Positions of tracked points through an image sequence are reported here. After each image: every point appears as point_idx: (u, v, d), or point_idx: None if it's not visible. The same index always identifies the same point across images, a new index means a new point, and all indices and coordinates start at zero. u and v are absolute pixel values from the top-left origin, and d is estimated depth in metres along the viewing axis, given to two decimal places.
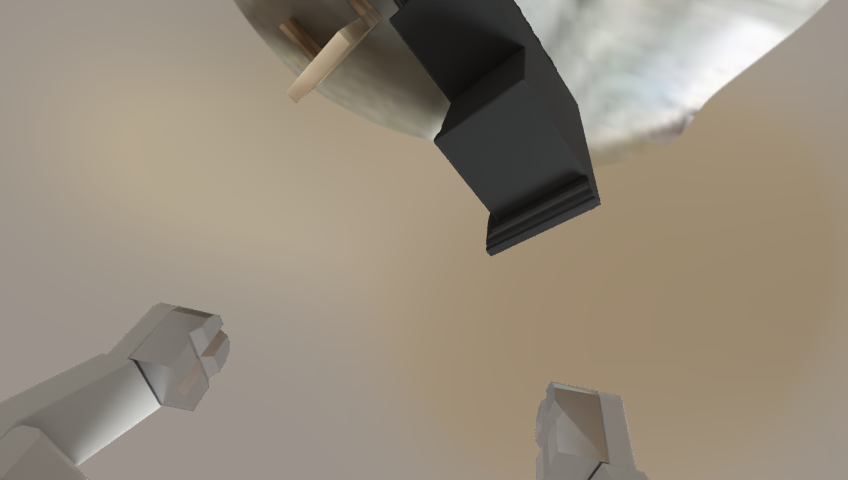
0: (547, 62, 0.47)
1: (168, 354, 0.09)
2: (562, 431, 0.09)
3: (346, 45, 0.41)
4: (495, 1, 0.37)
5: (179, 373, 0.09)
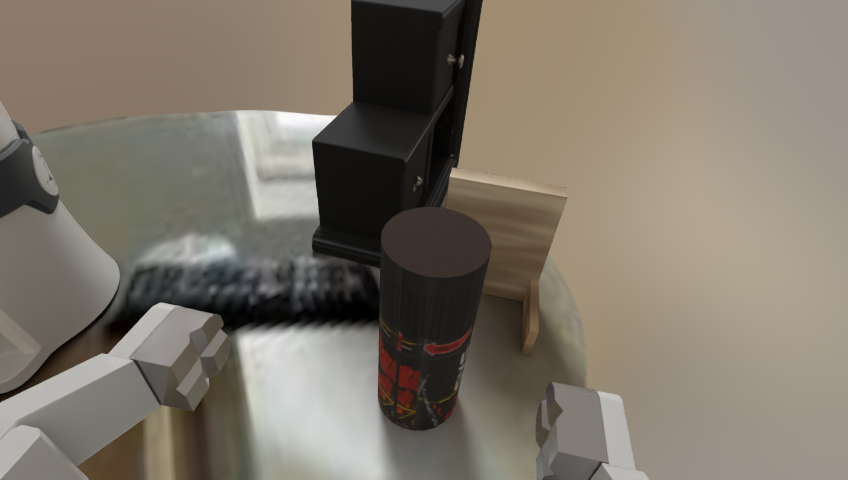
0: None
1: (168, 354, 0.09)
2: (562, 431, 0.09)
3: (456, 169, 0.35)
4: (335, 118, 0.42)
5: (179, 373, 0.09)
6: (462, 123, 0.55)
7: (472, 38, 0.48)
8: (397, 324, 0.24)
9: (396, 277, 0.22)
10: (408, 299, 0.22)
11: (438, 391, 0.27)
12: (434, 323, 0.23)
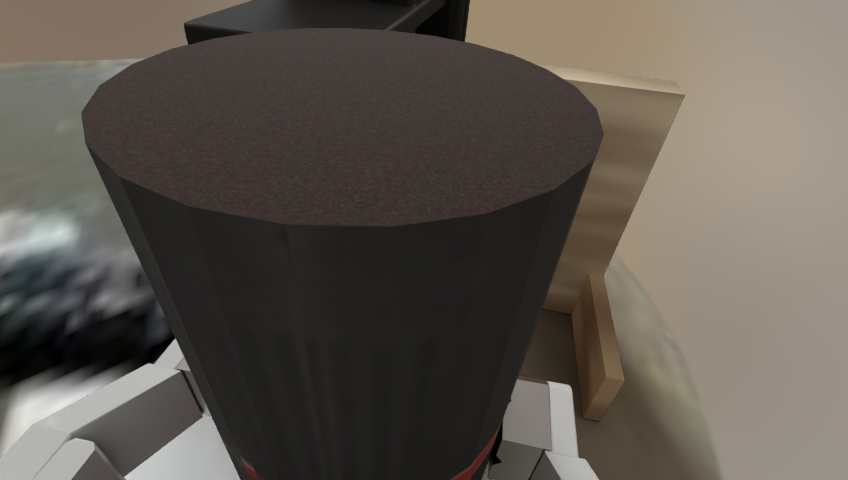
0: None
1: None
2: (509, 420, 0.09)
3: None
4: (242, 4, 0.24)
5: None
6: None
7: None
8: (229, 435, 0.06)
9: (139, 244, 0.04)
10: (217, 350, 0.05)
11: None
12: (357, 447, 0.05)
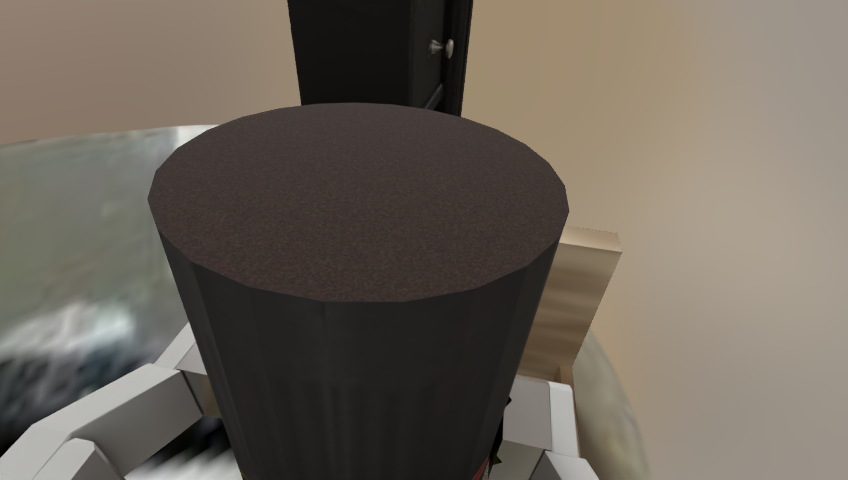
0: None
1: None
2: (509, 420, 0.09)
3: None
4: None
5: None
6: None
7: (465, 18, 0.35)
8: (250, 465, 0.07)
9: (193, 307, 0.05)
10: (252, 392, 0.05)
11: None
12: (367, 474, 0.06)
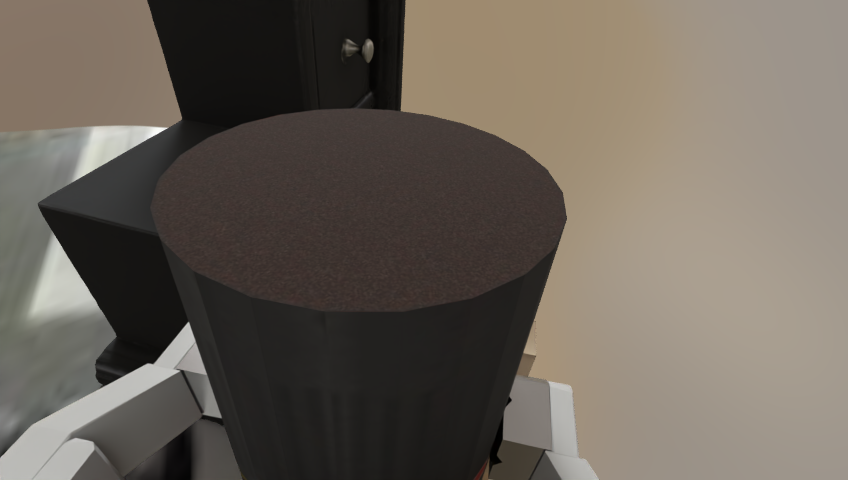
0: None
1: None
2: (509, 420, 0.09)
3: None
4: (122, 154, 0.23)
5: None
6: None
7: (396, 14, 0.29)
8: (251, 469, 0.07)
9: (195, 314, 0.05)
10: (254, 399, 0.06)
11: None
12: (367, 479, 0.06)
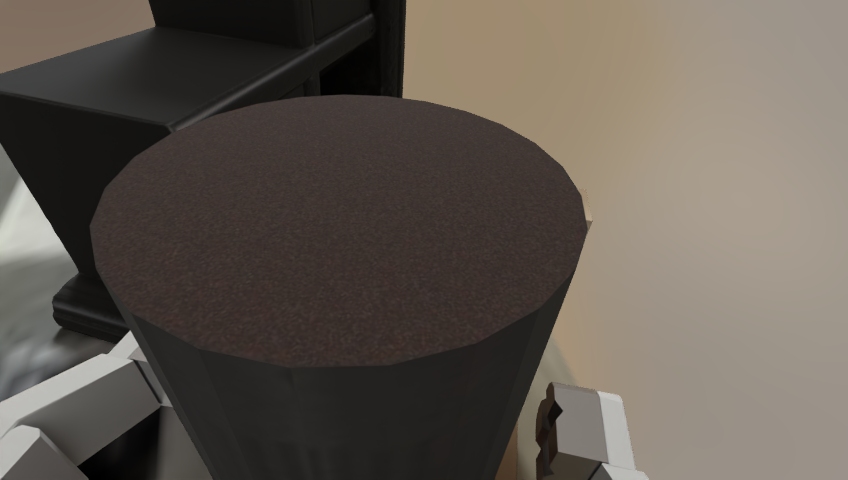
0: None
1: None
2: (562, 431, 0.09)
3: None
4: (81, 50, 0.19)
5: None
6: (399, 85, 0.32)
7: None
8: None
9: (147, 354, 0.04)
10: (221, 446, 0.05)
11: None
12: None
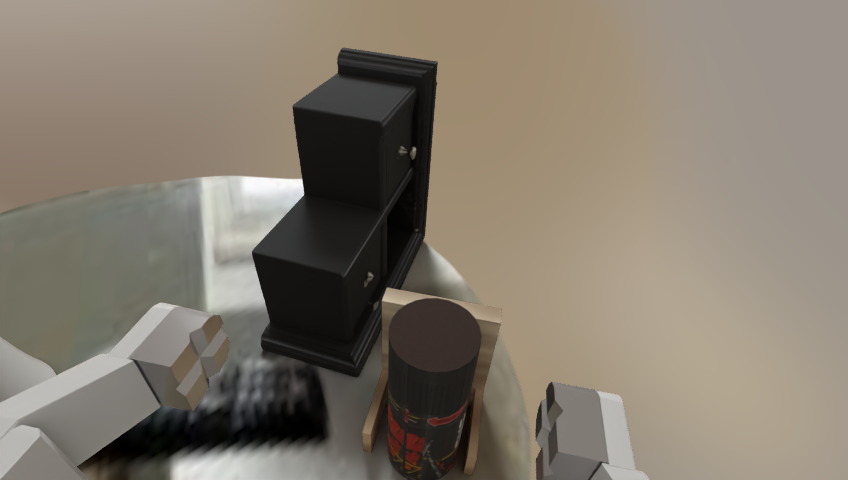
0: None
1: (168, 354, 0.09)
2: (562, 431, 0.09)
3: (390, 289, 0.34)
4: (281, 220, 0.41)
5: (179, 373, 0.09)
6: (425, 200, 0.54)
7: (428, 124, 0.47)
8: (404, 402, 0.28)
9: (402, 369, 0.26)
10: (413, 385, 0.26)
11: (440, 452, 0.32)
12: (435, 403, 0.27)
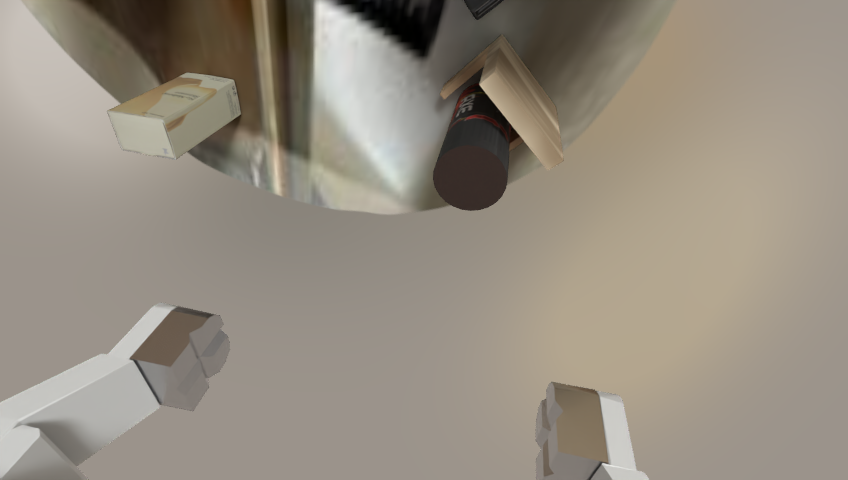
0: None
1: (168, 354, 0.09)
2: (562, 431, 0.09)
3: (496, 76, 0.32)
4: None
5: (179, 373, 0.09)
6: None
7: None
8: None
9: None
10: None
11: None
12: None
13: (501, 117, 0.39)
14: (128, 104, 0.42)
